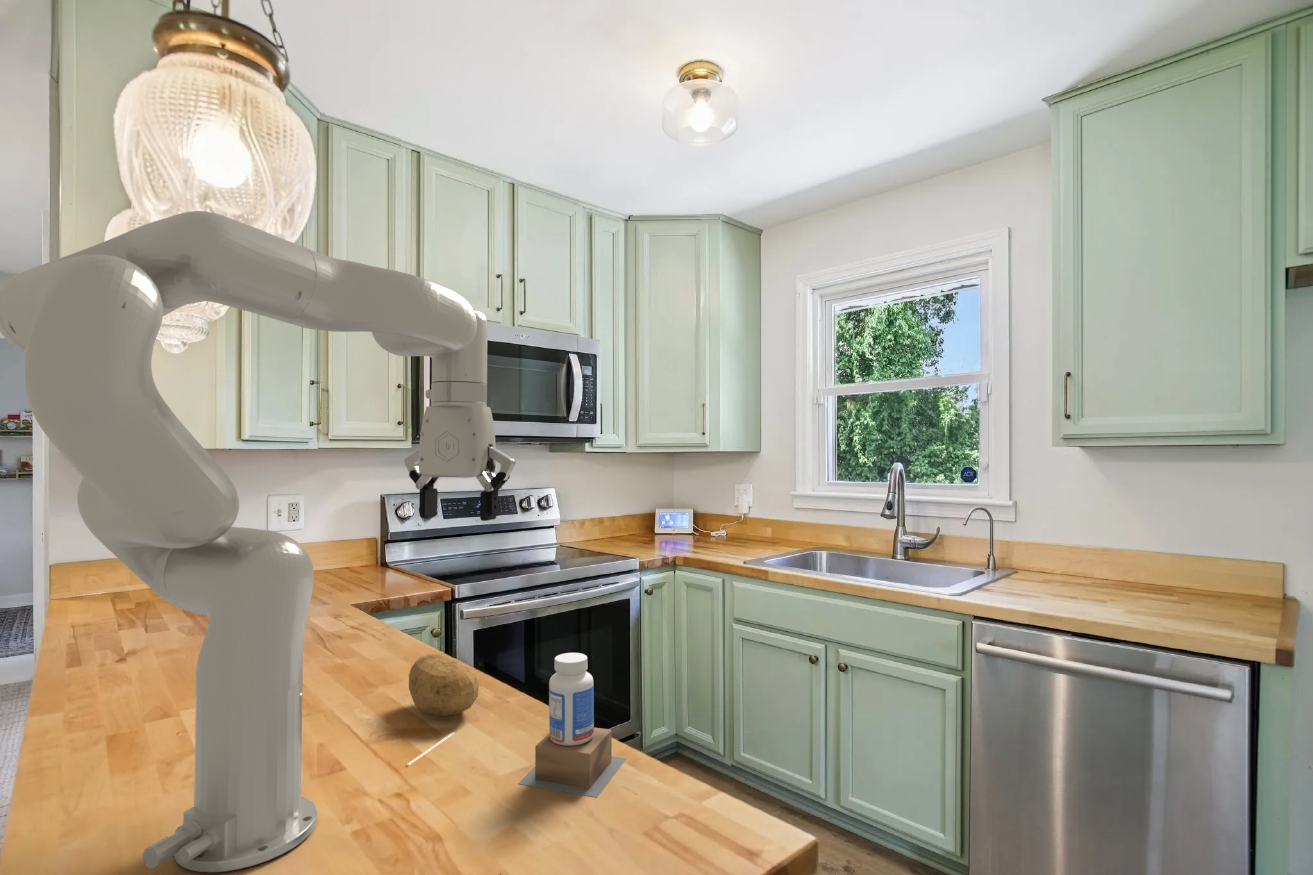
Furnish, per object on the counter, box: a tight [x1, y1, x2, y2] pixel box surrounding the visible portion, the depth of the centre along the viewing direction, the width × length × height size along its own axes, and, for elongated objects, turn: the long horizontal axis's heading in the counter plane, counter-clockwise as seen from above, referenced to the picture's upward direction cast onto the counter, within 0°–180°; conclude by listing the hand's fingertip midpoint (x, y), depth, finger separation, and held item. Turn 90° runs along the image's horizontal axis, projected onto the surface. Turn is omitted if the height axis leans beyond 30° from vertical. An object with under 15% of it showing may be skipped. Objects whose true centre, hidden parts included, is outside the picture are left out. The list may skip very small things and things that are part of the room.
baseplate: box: [517, 755, 628, 798], centre depth 82 cm, size 10×10×1 cm
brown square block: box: [534, 726, 613, 789], centre depth 83 cm, size 7×7×4 cm
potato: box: [408, 653, 480, 717], centre depth 102 cm, size 10×14×8 cm
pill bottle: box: [548, 652, 595, 746], centre depth 83 cm, size 6×5×10 cm
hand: (458, 518), depth 95 cm, fingers open, 9 cm apart
